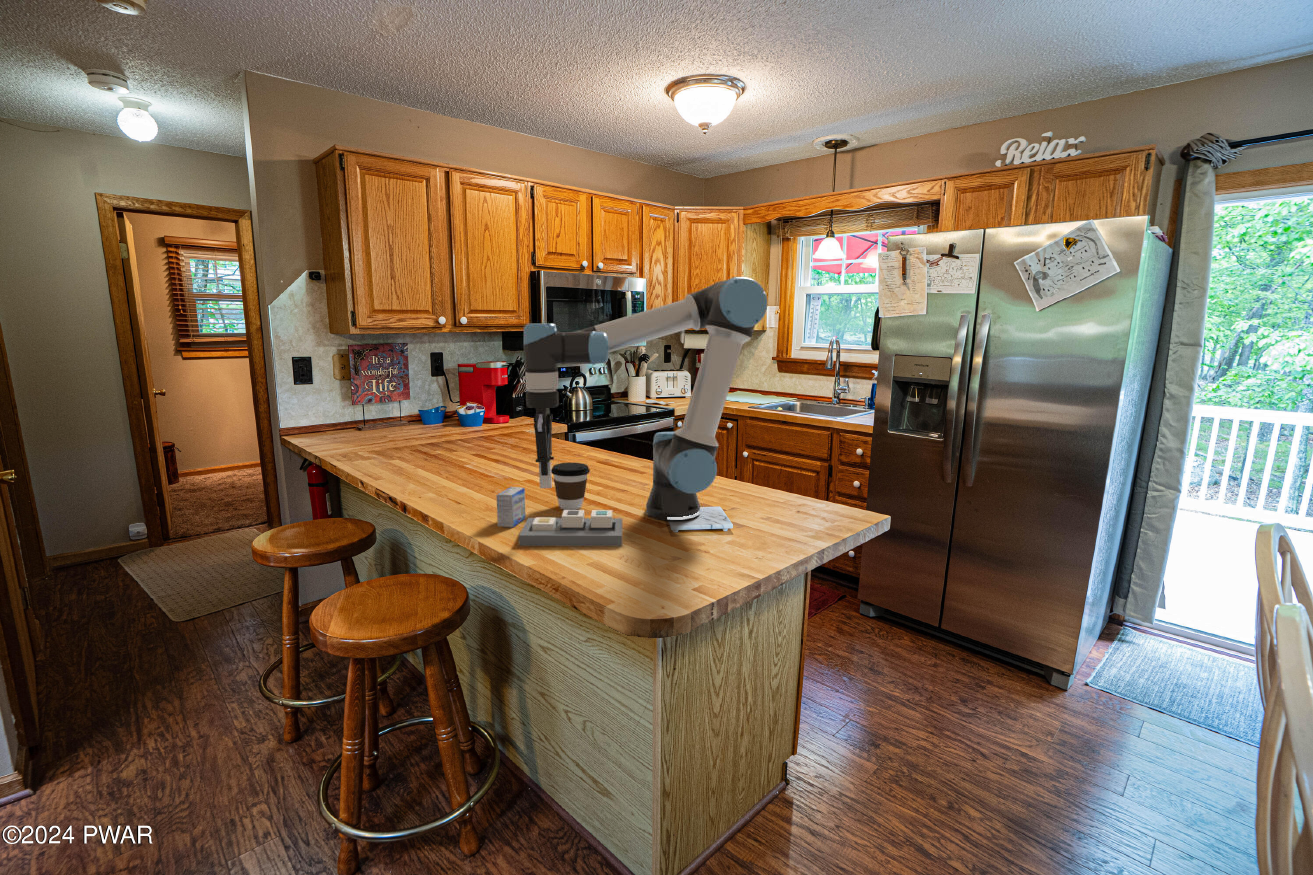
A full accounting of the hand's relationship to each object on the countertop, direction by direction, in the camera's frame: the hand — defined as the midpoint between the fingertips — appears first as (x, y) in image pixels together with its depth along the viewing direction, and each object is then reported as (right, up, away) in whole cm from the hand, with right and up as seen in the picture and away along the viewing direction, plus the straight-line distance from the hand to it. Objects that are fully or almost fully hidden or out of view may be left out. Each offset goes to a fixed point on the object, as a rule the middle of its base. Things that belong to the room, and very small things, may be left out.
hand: (545, 487), depth 143 cm
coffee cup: (+2, -8, +26) cm, 28 cm away
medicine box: (-11, -11, +12) cm, 20 cm away
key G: (-1, -11, +2) cm, 11 cm away
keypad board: (+6, -12, +2) cm, 14 cm away
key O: (+13, -9, +2) cm, 16 cm away
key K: (+6, -9, +2) cm, 11 cm away
